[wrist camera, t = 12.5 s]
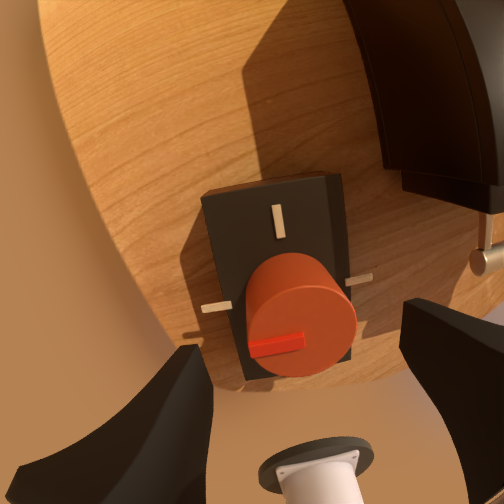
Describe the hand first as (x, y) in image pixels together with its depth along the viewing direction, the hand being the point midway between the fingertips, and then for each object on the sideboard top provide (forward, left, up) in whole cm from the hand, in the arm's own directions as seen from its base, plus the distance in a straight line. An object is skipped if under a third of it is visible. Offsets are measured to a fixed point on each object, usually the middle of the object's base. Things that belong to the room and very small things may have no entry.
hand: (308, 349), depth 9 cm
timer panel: (0, 0, -7) cm, 7 cm away
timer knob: (0, 0, -4) cm, 4 cm away
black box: (+13, -13, -7) cm, 19 cm away
